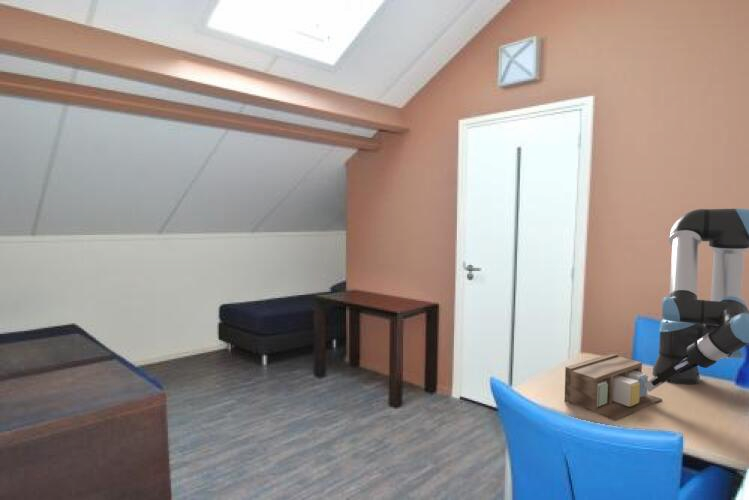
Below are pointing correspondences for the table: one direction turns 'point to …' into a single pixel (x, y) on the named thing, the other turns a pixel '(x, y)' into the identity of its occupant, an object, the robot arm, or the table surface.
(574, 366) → the brown boxy piece
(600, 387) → the sage key
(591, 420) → the table surface
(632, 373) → the white and blue block
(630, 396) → the mustard key
